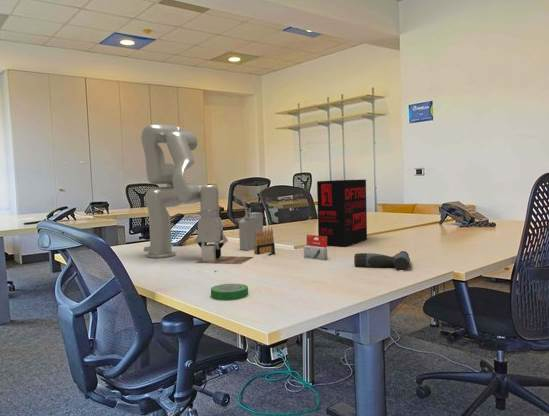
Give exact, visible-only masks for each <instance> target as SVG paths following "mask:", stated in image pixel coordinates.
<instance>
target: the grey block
mask: <svg viewBox="0 0 549 416" xmlns="http://www.w3.org/2000/svg"><path fill="white" fill-rule="evenodd" d="M215 250H216V245H215V243H207V245H205V246H202V249H201V260H202V261H215V260H218V259H220V258H221V256H222V255H221V256H220V258H218V259H216V251H215Z"/></svg>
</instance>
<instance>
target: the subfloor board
mask: <svg viewBox="0 0 549 416" xmlns="http://www.w3.org/2000/svg"><path fill="white" fill-rule="evenodd" d="M253 258H255V256H233V255H230V256H227V255H226V256H225V255H223V256H222V255H221V258H220V259H218V260H215V261H202V259H200V260H198V261H195V262H194V264H213V265H214V264H219V265H243V264H244V263H246V262H248V261H250V260H252V259H253Z"/></svg>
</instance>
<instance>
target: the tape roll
mask: <svg viewBox="0 0 549 416" xmlns="http://www.w3.org/2000/svg"><path fill="white" fill-rule="evenodd" d="M247 295H249V286H248V285H246V284H244V283H243V284H242V283H223V284H217V285H214V286H212V287H210V297H211V299H214V300H217V301H218V300H219V301H234V300H235V301H236V300H241V299H244V298H245V297H248V296H247ZM243 297H244V298H243ZM240 298H241V299H240Z"/></svg>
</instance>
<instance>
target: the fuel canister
mask: <svg viewBox="0 0 549 416" xmlns="http://www.w3.org/2000/svg"><path fill="white" fill-rule="evenodd" d="M239 200H240V202H241V204H242V205H243V208H244V212H245V215H244V217H242V219H240V220H239V222H238V229H239V230H238V231H239V233H238V234H239V236H238V237H239V250H241V251H252V250H254V245H255V232H256V230H257V232H259V229H260V231H261V232H262V229H263V230H264V223H263V222H264V221H263V220H264V218H263V217H264V215H263V213H262V212H249V211H248V209H247V205H246V203H245V201H244V200H243V198H240V199H239Z"/></svg>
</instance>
